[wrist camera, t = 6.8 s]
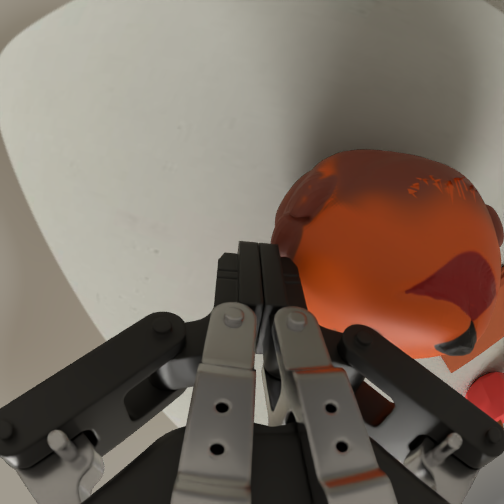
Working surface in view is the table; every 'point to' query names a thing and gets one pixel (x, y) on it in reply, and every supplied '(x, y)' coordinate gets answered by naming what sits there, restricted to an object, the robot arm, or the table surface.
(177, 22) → the table surface
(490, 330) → the book
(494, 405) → the apple
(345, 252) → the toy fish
